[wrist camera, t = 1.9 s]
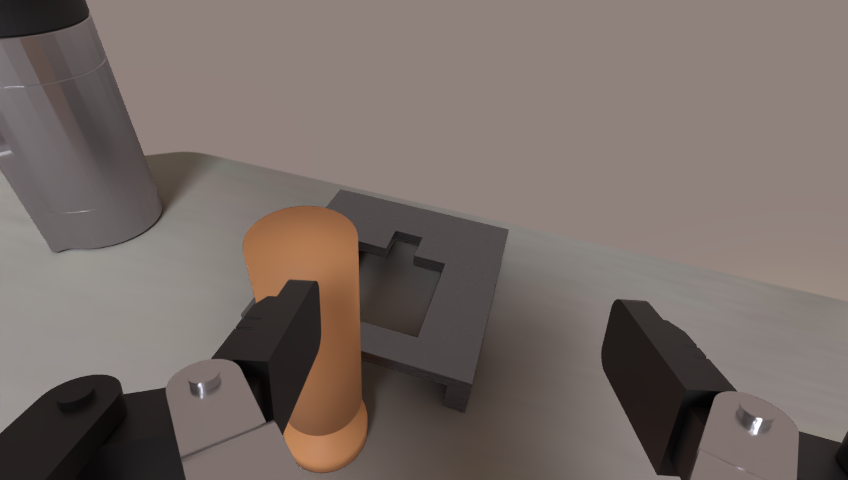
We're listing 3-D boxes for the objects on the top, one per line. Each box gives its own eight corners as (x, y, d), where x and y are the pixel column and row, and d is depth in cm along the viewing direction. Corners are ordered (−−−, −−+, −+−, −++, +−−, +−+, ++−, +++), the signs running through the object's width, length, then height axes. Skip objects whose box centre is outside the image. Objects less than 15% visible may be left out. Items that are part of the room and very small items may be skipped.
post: (310, 491, 25) (268, 307, 15) (272, 423, 28) (214, 227, 18) (382, 439, 28) (390, 251, 17) (341, 381, 31) (326, 189, 20)
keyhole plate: (464, 412, 30) (472, 384, 27) (250, 345, 32) (240, 314, 30) (500, 258, 42) (508, 229, 39) (342, 218, 44) (340, 189, 42)
